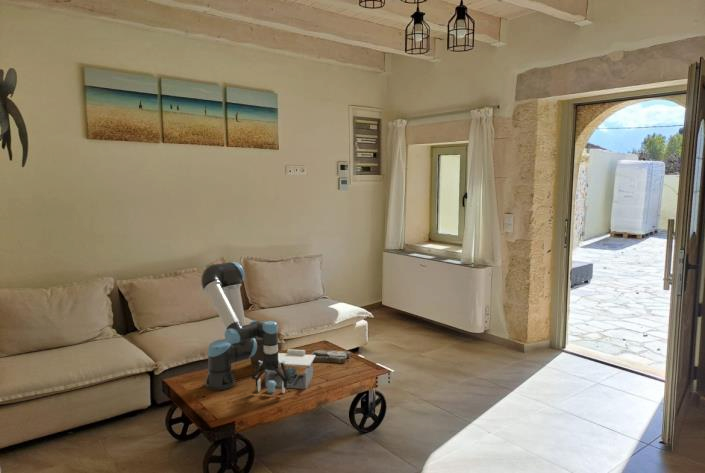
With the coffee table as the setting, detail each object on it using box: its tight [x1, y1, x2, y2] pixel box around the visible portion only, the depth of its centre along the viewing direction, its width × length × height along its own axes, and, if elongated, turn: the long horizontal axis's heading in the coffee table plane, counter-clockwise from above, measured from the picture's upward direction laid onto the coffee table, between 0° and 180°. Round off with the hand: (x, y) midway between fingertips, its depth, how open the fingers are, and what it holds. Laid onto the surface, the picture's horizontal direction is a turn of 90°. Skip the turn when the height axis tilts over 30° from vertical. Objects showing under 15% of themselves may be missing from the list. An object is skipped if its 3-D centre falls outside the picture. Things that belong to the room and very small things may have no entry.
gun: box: [308, 349, 352, 364], centre depth 292 cm, size 4×24×15 cm
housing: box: [264, 362, 314, 390], centre depth 256 cm, size 22×16×10 cm
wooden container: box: [250, 337, 264, 371], centre depth 281 cm, size 15×15×22 cm
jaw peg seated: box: [286, 366, 297, 379], centre depth 260 cm, size 5×5×6 cm
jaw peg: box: [266, 380, 276, 396], centre depth 244 cm, size 5×5×6 cm
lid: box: [278, 348, 316, 368], centre depth 263 cm, size 22×15×3 cm
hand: (271, 392), depth 244 cm, fingers open, 12 cm apart
